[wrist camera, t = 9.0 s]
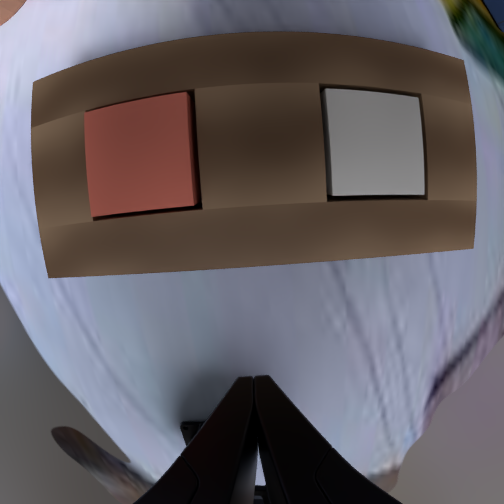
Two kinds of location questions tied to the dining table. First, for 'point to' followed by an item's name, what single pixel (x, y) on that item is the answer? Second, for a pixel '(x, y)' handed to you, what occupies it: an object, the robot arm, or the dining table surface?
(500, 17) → the electronic device
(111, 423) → the dining table surface
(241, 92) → the brown tray
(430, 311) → the dining table surface
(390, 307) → the dining table surface
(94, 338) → the dining table surface
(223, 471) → the robot arm
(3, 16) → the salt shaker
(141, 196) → the salmon pink cube
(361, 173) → the pale grey cube
